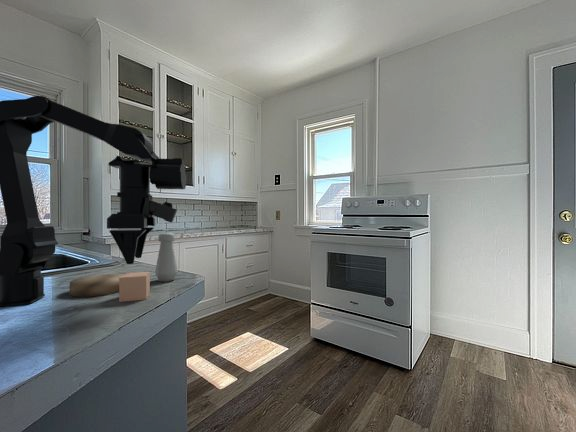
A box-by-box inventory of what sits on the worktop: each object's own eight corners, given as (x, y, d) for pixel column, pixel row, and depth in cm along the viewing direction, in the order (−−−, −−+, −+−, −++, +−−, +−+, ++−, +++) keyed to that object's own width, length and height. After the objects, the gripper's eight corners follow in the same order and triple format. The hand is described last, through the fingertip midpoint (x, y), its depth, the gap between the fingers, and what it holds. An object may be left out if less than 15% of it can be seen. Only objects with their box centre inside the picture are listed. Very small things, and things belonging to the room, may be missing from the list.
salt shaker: (172, 282, 75) (172, 233, 75) (151, 282, 75) (150, 233, 75) (181, 277, 81) (181, 232, 81) (161, 277, 81) (161, 232, 81)
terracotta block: (119, 302, 58) (119, 277, 58) (124, 295, 62) (124, 273, 63) (146, 299, 59) (146, 275, 59) (149, 293, 64) (149, 271, 64)
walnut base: (59, 298, 60) (59, 286, 60) (80, 285, 71) (80, 275, 71) (123, 293, 64) (123, 282, 64) (134, 282, 75) (134, 272, 75)
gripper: (172, 185, 55) (171, 265, 55) (177, 193, 72) (176, 254, 72) (106, 183, 51) (105, 269, 51) (128, 192, 69) (127, 255, 69)
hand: (134, 260), depth 61 cm, fingers open, 9 cm apart
